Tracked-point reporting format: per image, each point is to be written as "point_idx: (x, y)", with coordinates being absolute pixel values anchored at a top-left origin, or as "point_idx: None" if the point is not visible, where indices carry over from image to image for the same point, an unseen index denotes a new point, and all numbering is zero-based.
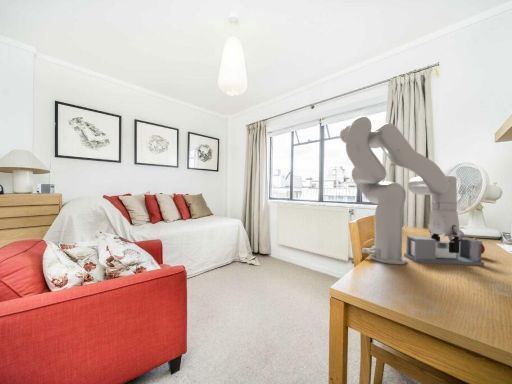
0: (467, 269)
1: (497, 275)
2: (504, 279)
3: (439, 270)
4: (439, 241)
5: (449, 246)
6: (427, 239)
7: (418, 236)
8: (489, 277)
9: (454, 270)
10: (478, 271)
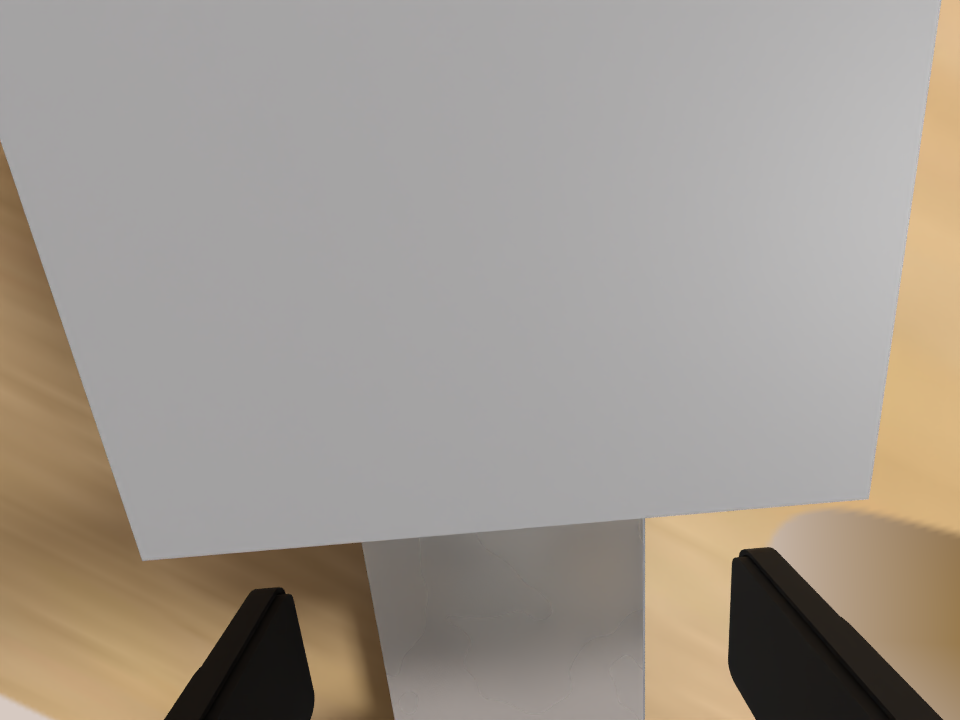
0: (213, 561)
1: (124, 704)
2: (22, 691)
3: (13, 210)
4: (571, 705)
5: (198, 685)
6: (48, 230)
7: (762, 140)
8: (18, 609)
9: None
10: (184, 623)
